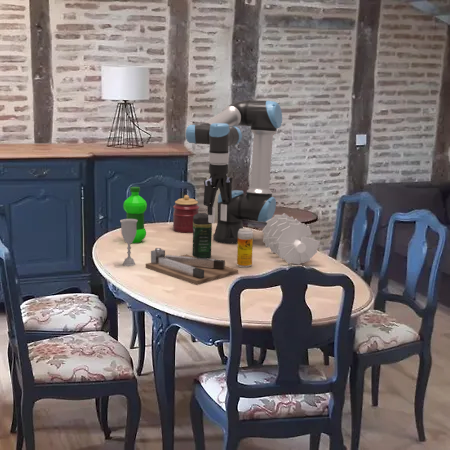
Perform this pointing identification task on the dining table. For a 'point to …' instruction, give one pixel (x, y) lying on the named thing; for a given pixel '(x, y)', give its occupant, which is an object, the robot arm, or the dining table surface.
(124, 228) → the chalice
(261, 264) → the dining table surface
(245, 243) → the beer can
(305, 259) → the spiral staircase
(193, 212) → the canister
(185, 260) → the arm
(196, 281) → the cutting board
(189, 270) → the grey l-shaped bar
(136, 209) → the plastic bottle
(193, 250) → the coffee jar
